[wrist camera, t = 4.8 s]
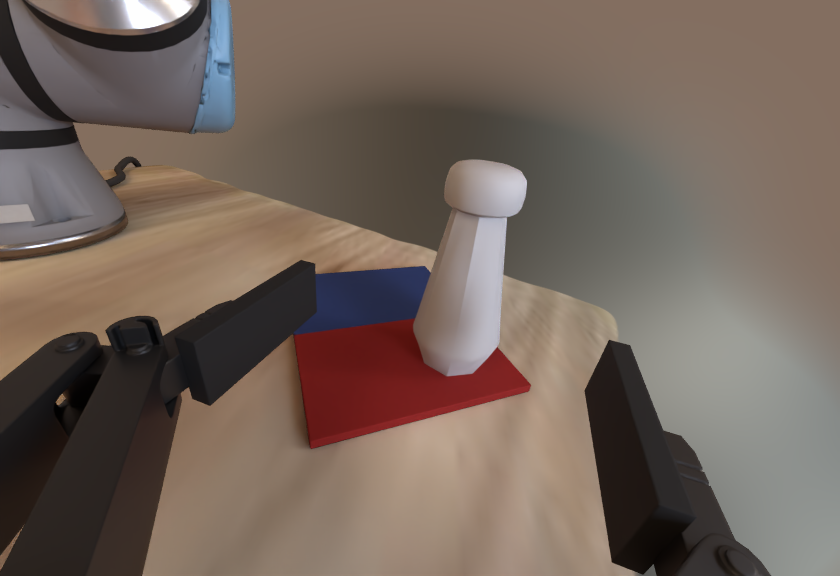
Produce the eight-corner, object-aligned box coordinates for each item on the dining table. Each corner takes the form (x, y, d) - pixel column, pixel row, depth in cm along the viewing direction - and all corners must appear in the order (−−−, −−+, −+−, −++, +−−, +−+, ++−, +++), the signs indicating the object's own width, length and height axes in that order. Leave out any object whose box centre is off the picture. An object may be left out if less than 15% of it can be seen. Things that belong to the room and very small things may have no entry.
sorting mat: (285, 281, 31) (285, 276, 31) (424, 270, 37) (424, 265, 36) (310, 449, 17) (309, 441, 17) (529, 391, 23) (531, 385, 22)
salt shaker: (461, 325, 27) (498, 155, 21) (508, 372, 23) (572, 176, 17) (396, 340, 25) (415, 150, 18) (435, 397, 20) (478, 175, 14)
